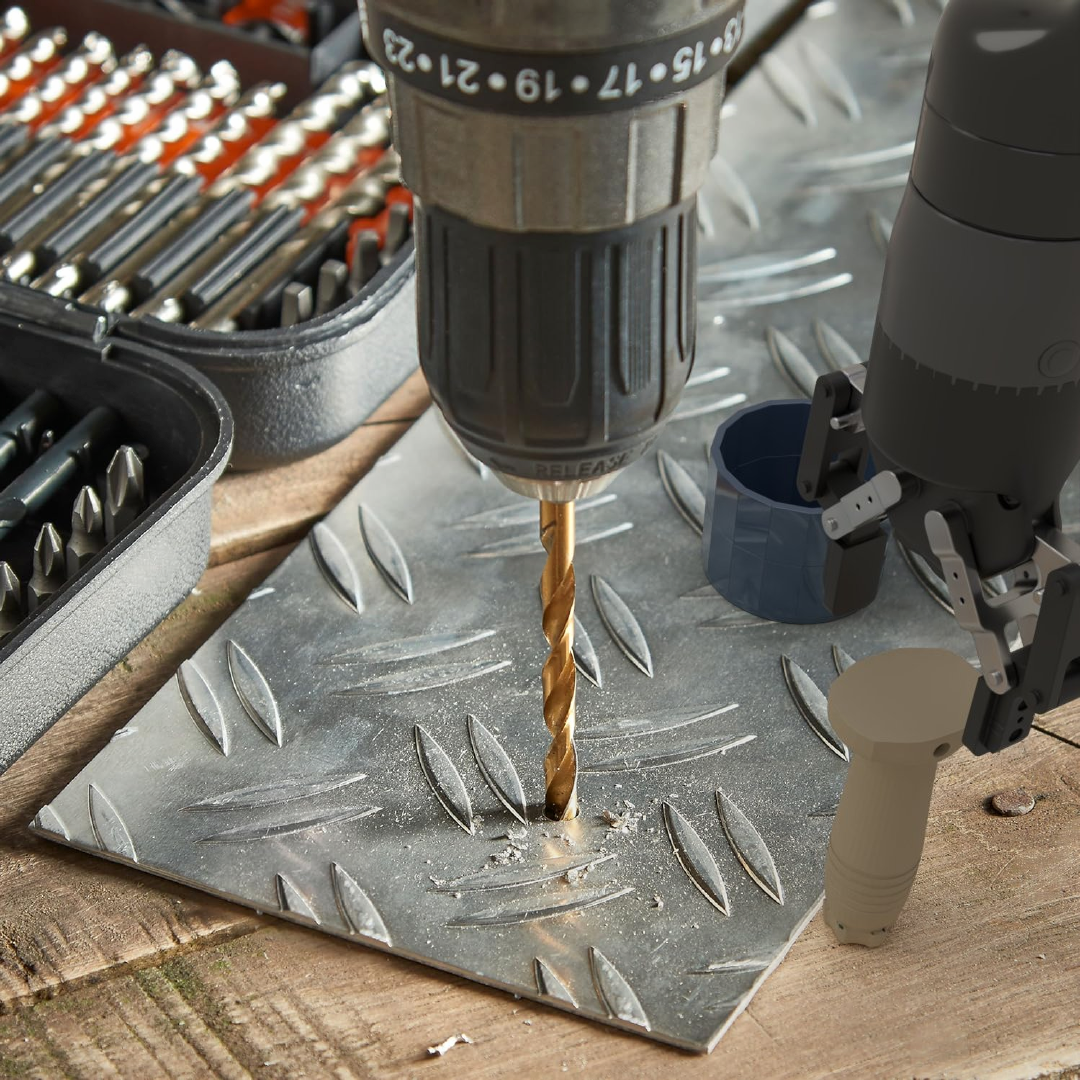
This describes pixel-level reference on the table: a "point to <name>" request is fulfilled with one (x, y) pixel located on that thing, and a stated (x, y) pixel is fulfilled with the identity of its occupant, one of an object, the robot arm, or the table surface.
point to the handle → (889, 779)
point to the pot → (766, 516)
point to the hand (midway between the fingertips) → (914, 671)
